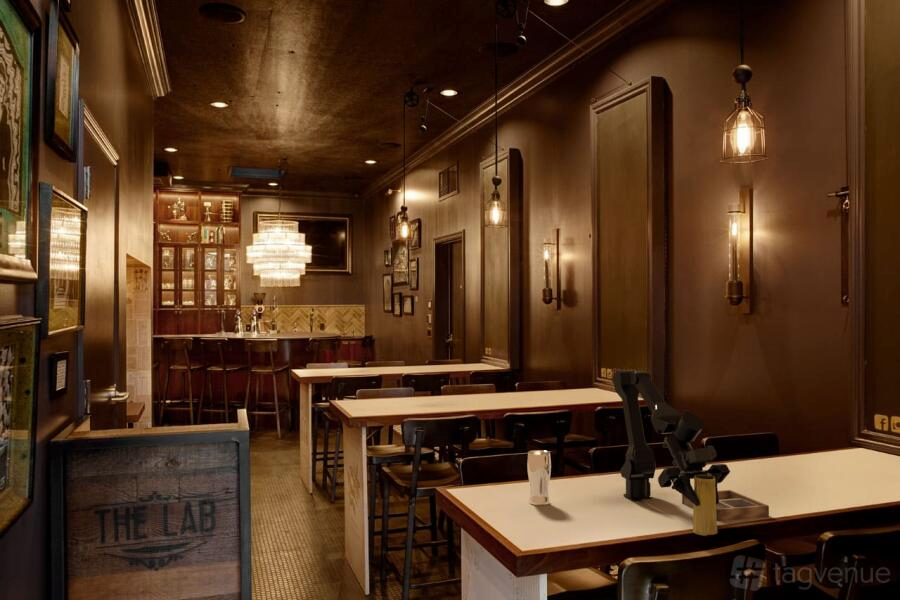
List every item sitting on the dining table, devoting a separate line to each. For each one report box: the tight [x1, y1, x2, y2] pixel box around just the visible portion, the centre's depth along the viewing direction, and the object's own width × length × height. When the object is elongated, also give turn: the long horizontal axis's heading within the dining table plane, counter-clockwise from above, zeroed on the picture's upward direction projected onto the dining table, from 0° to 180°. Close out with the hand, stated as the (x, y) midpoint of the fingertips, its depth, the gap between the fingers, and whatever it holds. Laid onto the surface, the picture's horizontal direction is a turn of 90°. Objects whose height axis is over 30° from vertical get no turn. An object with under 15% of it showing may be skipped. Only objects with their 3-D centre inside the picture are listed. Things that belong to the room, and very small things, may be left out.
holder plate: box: [716, 498, 760, 509], centre depth 189 cm, size 9×9×2 cm
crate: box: [681, 489, 770, 522], centre depth 192 cm, size 16×17×4 cm
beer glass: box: [526, 449, 552, 507], centre depth 201 cm, size 7×7×15 cm
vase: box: [692, 475, 718, 537], centre depth 174 cm, size 6×6×14 cm
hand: (708, 504), depth 172 cm, fingers closed on vase, 5 cm apart
